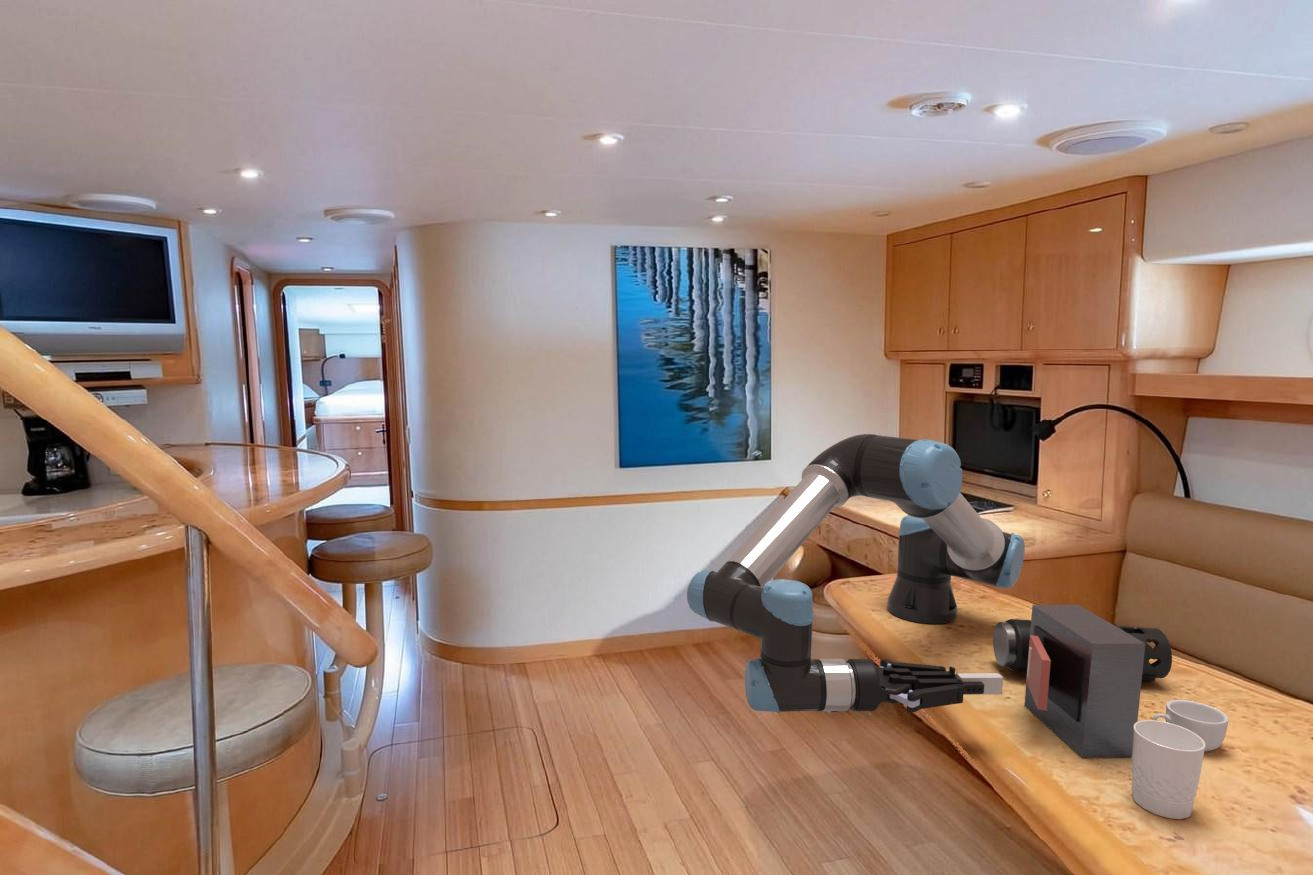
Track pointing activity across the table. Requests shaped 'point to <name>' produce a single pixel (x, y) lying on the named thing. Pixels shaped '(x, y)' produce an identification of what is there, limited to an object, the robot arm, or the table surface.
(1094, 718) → the switch box
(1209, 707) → the teacup
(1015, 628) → the muzzle brake
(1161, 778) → the white cup
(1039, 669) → the rocker
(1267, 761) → the table surface
